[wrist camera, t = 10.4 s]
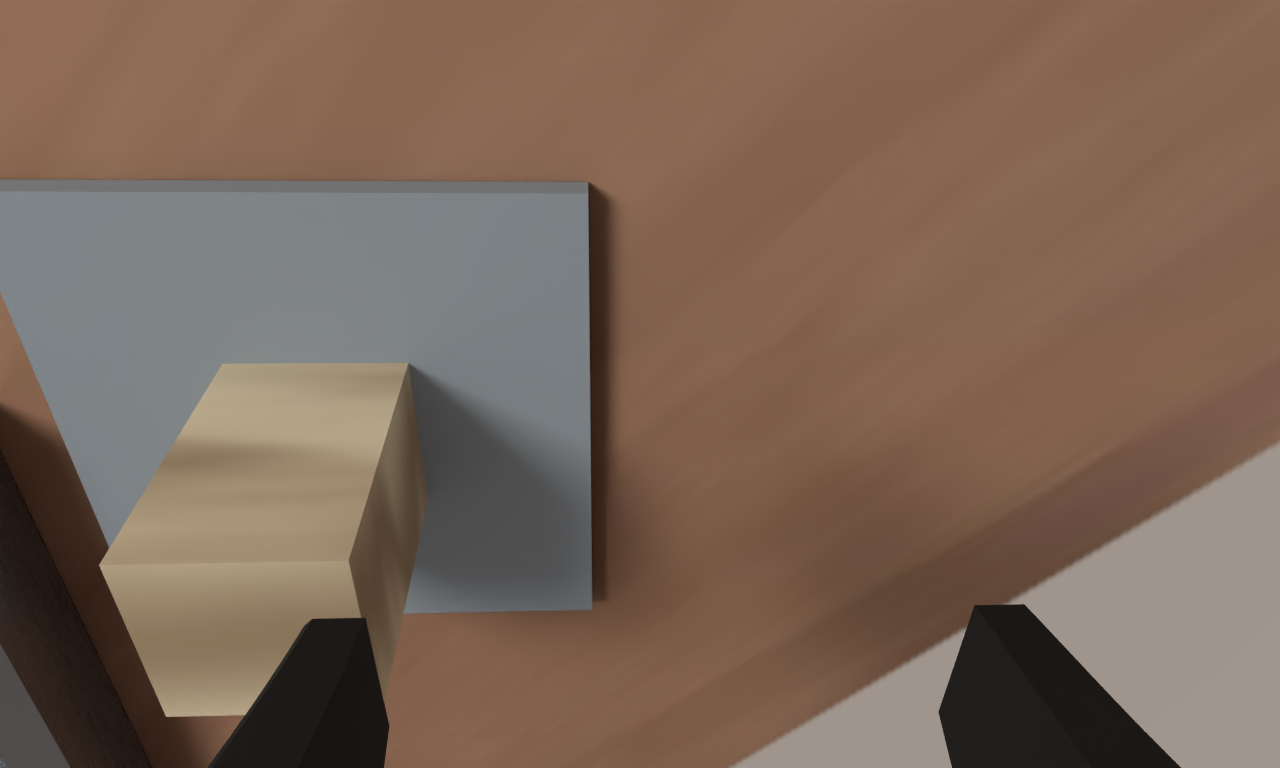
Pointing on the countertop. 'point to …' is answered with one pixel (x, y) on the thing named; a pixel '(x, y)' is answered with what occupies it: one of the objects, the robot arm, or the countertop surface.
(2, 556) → the tray
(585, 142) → the countertop surface
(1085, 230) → the countertop surface
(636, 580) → the countertop surface
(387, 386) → the peg
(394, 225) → the mat
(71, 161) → the countertop surface
